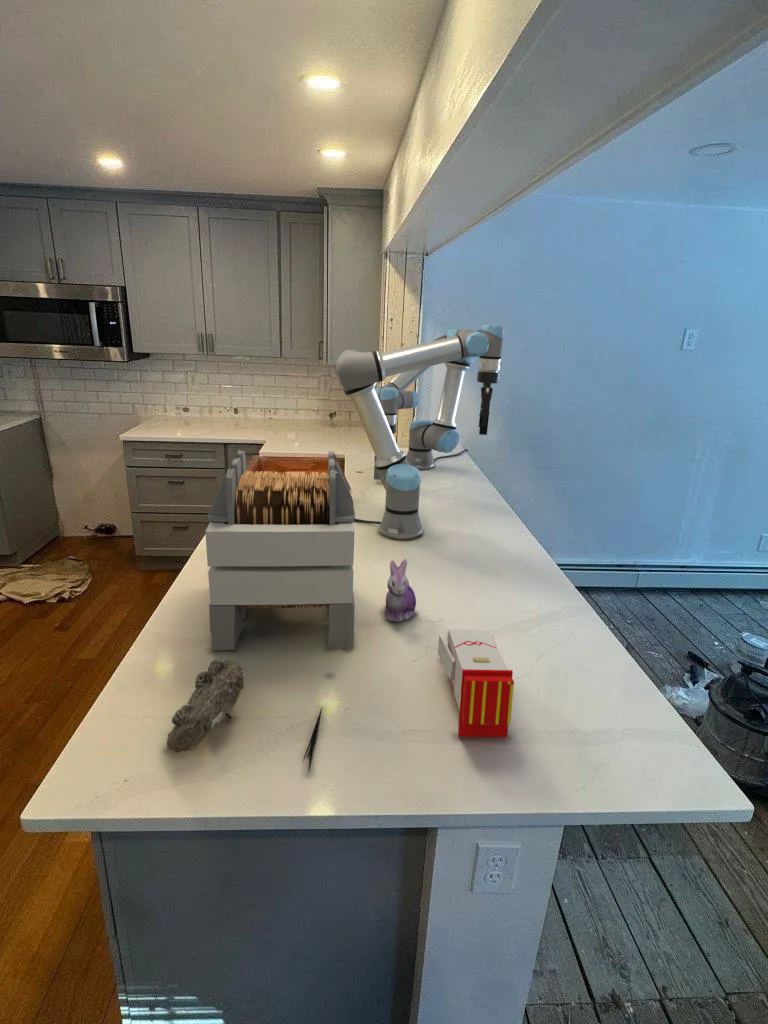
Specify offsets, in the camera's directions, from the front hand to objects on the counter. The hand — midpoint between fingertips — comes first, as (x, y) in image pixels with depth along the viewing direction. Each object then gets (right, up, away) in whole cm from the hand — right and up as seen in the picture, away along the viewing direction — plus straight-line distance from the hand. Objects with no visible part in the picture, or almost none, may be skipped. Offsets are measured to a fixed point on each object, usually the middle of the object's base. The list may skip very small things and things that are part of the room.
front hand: (482, 430), depth 206 cm
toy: (-18, -67, -88) cm, 112 cm away
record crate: (-61, -56, -61) cm, 103 cm away
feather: (-48, -69, -98) cm, 129 cm away
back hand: (-35, -13, +49) cm, 61 cm away
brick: (-36, -14, +49) cm, 62 cm away
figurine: (-32, -56, -59) cm, 87 cm away
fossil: (-69, -69, -98) cm, 138 cm away
